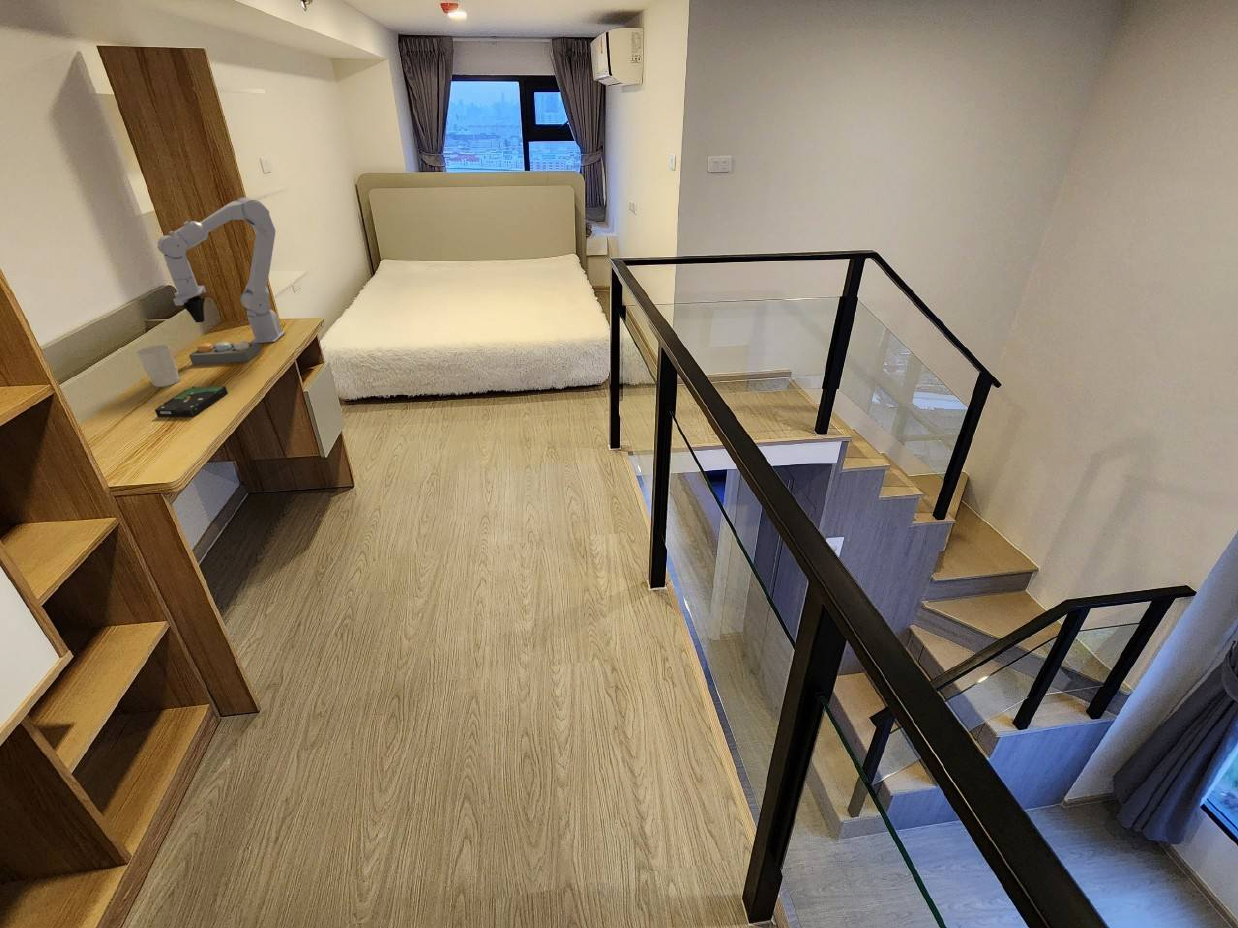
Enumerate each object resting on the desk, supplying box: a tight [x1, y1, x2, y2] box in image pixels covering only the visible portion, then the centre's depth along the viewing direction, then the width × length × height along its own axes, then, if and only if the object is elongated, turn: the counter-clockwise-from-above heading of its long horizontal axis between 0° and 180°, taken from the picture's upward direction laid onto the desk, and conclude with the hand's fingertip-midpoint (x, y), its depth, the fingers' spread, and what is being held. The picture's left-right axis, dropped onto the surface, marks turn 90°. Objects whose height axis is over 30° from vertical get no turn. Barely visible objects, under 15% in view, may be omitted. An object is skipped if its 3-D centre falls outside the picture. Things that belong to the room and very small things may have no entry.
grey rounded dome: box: [215, 341, 232, 352], centre depth 197 cm, size 4×4×3 cm
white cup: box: [136, 344, 181, 388], centre depth 180 cm, size 8×8×10 cm
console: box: [188, 341, 262, 366], centre depth 198 cm, size 9×17×3 cm, turn 94°
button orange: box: [197, 342, 214, 353], centre depth 197 cm, size 4×4×3 cm
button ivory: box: [234, 340, 250, 351], centre depth 197 cm, size 4×4×3 cm
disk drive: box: [154, 385, 229, 418], centre depth 168 cm, size 10×3×15 cm
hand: (200, 321), depth 197 cm, fingers closed
